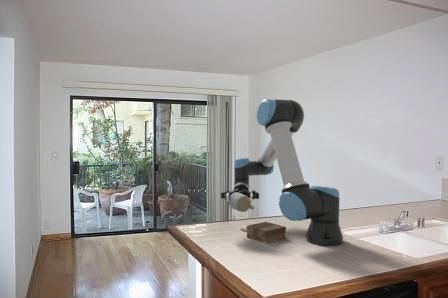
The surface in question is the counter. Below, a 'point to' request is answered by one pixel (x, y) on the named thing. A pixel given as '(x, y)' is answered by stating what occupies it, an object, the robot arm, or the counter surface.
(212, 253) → the counter surface
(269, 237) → the walnut base block
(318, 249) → the counter surface
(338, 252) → the counter surface
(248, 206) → the ceramic mug
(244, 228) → the cork coaster
